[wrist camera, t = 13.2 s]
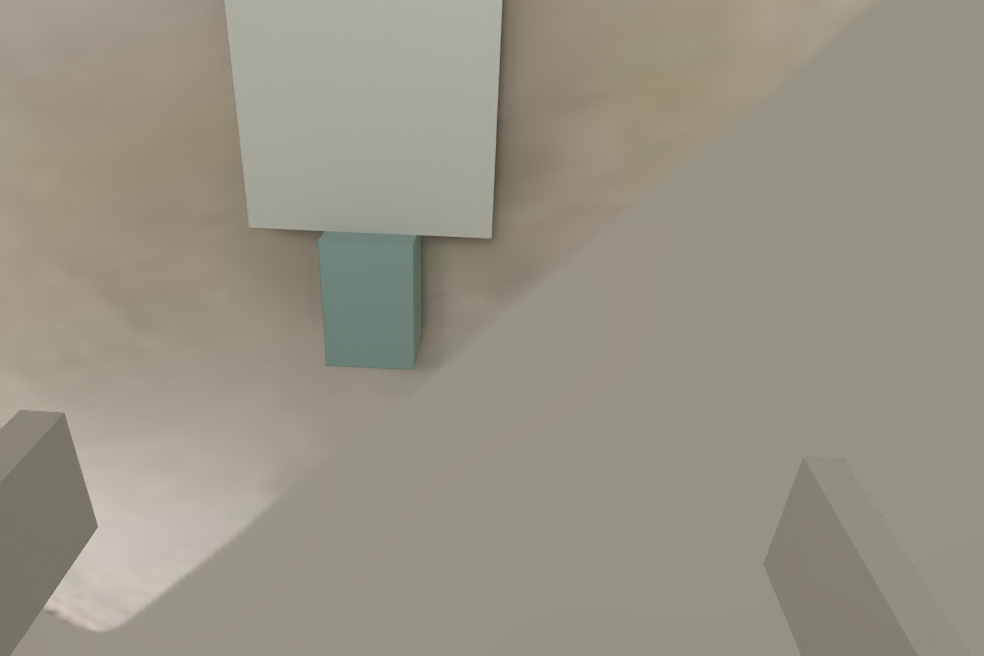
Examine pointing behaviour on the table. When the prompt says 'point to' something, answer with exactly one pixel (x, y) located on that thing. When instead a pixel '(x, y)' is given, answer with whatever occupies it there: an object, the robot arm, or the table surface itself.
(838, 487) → the robot arm
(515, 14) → the table surface
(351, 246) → the lid
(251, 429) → the table surface
